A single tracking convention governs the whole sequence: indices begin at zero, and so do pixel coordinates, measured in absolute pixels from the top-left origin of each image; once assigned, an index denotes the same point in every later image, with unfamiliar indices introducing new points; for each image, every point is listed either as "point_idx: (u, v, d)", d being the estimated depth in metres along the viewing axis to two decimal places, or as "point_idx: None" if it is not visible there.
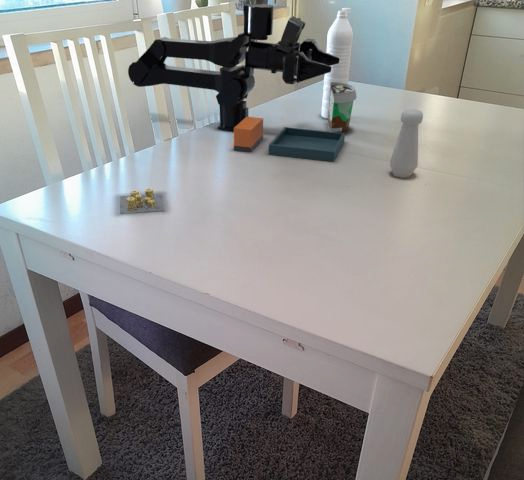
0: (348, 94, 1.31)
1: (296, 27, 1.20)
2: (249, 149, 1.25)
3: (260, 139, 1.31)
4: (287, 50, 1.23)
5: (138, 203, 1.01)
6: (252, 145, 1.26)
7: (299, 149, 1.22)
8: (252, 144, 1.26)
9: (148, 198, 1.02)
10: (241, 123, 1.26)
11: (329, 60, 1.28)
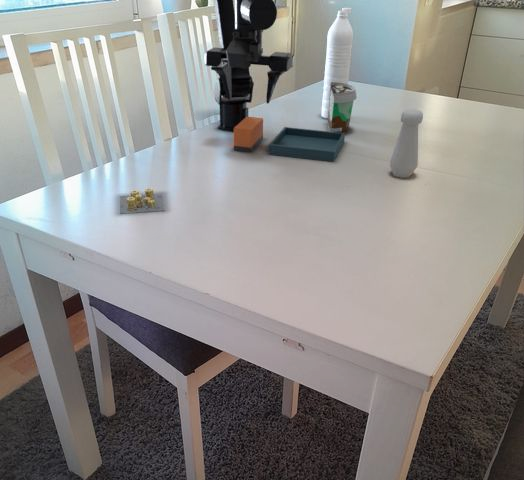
0: (348, 94, 1.31)
1: (227, 61, 1.13)
2: (249, 149, 1.25)
3: (260, 139, 1.31)
4: None
5: (138, 203, 1.01)
6: (252, 145, 1.26)
7: (299, 149, 1.22)
8: (252, 144, 1.26)
9: (148, 198, 1.02)
10: (241, 123, 1.26)
11: None
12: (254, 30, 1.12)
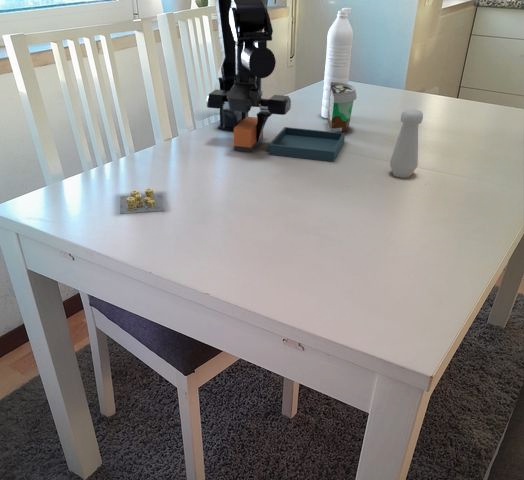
0: (348, 94, 1.31)
1: (228, 105, 1.19)
2: (249, 149, 1.25)
3: (260, 139, 1.31)
4: None
5: (138, 203, 1.01)
6: (252, 145, 1.26)
7: (299, 149, 1.22)
8: (252, 144, 1.26)
9: (148, 198, 1.02)
10: (241, 123, 1.26)
11: None
12: (254, 76, 1.18)
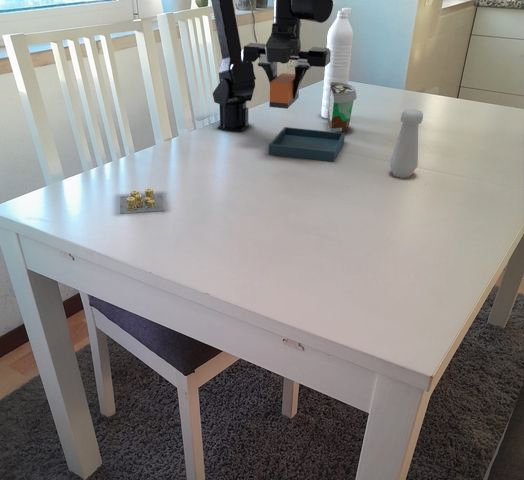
0: (348, 94, 1.31)
1: (266, 56, 1.12)
2: (286, 105, 1.18)
3: (296, 97, 1.24)
4: None
5: (138, 203, 1.01)
6: (289, 101, 1.19)
7: (299, 149, 1.22)
8: (289, 100, 1.19)
9: (148, 198, 1.02)
10: (277, 78, 1.19)
11: None
12: (293, 24, 1.11)
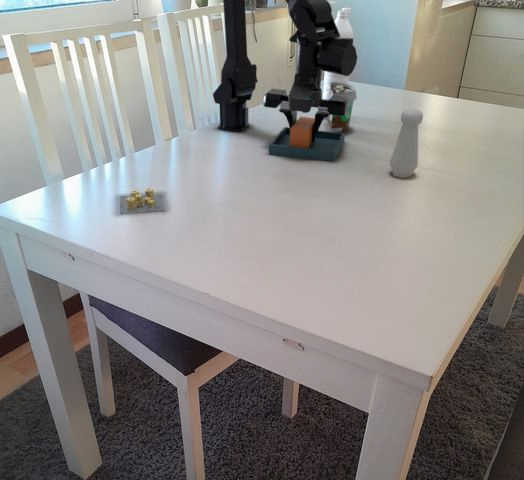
0: (348, 94, 1.31)
1: (288, 105, 1.17)
2: None
3: (314, 140, 1.29)
4: None
5: (138, 203, 1.01)
6: (308, 146, 1.24)
7: (299, 149, 1.22)
8: (308, 145, 1.24)
9: (148, 198, 1.02)
10: (297, 123, 1.25)
11: None
12: (315, 76, 1.16)
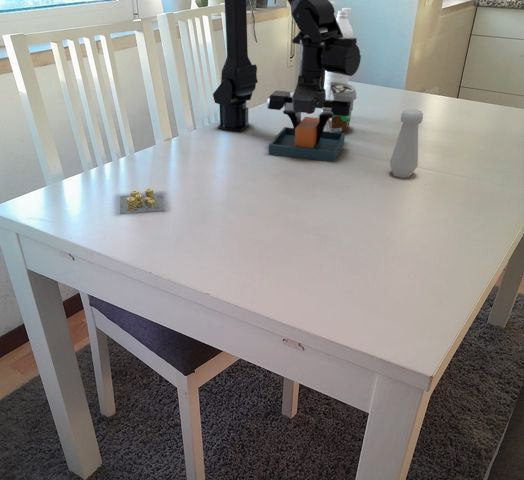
0: (348, 94, 1.31)
1: (292, 106, 1.17)
2: None
3: None
4: None
5: (138, 203, 1.01)
6: (313, 145, 1.24)
7: (299, 149, 1.22)
8: (313, 144, 1.24)
9: (148, 198, 1.02)
10: (301, 123, 1.24)
11: None
12: (319, 77, 1.16)
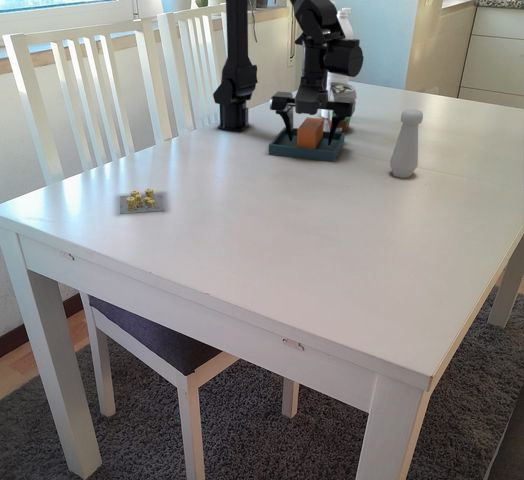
0: (348, 94, 1.31)
1: (295, 107, 1.17)
2: None
3: (321, 140, 1.29)
4: None
5: (138, 203, 1.01)
6: (315, 146, 1.24)
7: (299, 149, 1.22)
8: (315, 145, 1.24)
9: (148, 198, 1.02)
10: (304, 124, 1.24)
11: None
12: (321, 78, 1.16)
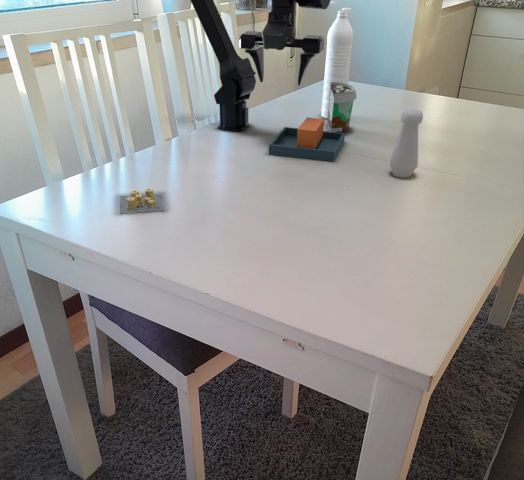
0: (348, 94, 1.31)
1: (262, 43, 1.17)
2: None
3: (321, 140, 1.29)
4: None
5: (138, 203, 1.01)
6: (315, 146, 1.24)
7: (299, 149, 1.22)
8: (315, 145, 1.24)
9: (148, 198, 1.02)
10: (304, 124, 1.24)
11: None
12: (288, 13, 1.17)
